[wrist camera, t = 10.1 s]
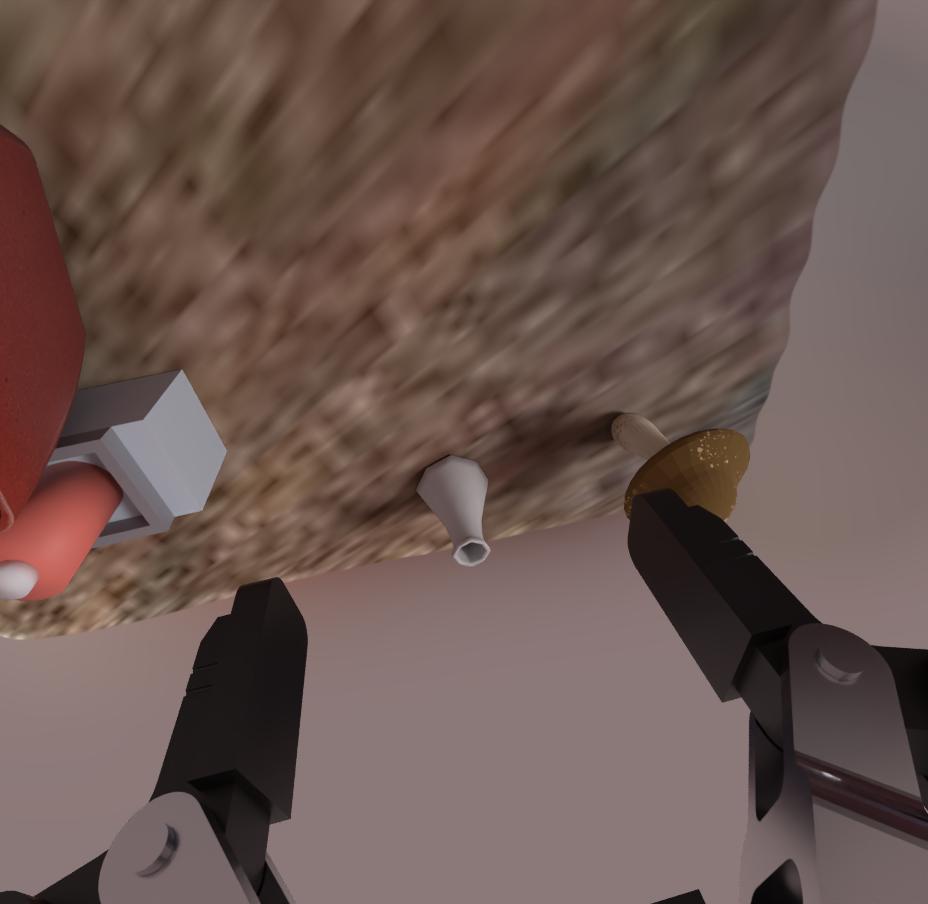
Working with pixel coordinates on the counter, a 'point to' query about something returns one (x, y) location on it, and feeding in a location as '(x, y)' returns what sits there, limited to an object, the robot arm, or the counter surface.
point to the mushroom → (685, 463)
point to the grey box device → (145, 450)
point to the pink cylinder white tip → (56, 530)
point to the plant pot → (31, 330)
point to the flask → (458, 505)
